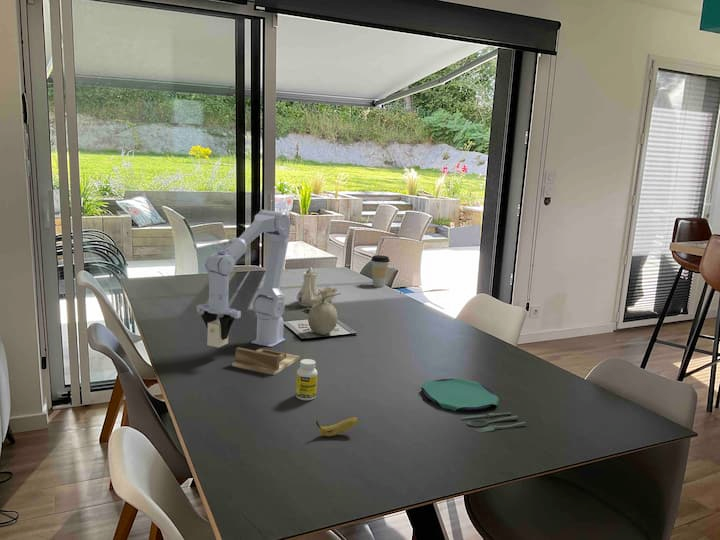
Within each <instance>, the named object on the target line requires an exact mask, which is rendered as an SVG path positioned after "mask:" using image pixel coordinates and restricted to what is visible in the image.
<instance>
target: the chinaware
mask: <svg viewBox="0 0 720 540" xmlns="http://www.w3.org/2000/svg"><path fill="white" fill-rule="evenodd" d="M302 275H303V281H302V286H301V288H300V290H299V292H298V293H297V294H296V300H297V301H298V304H299V305H300V306H302V307H307V308H309V307H311V308H312V307H313V306H314V305H315V304H317V303H318V302H319V301H320V299H321V298H323V297H326V296H329V295H334V294H337V292H338V289H337V288H335V287H334V288H331V287H329V286H326V287H324V288H323V287H319V288H318V285H317V277H318V275H319V273H317V272H315V270H313V267H311V266H310V267H309V268H308V270H306V271H305V272H302ZM334 298H335V296H331V297H328V298H325V300H324V302H327V303H330V302H331V301H332V299H334ZM320 302H322V300H321V301H320Z"/></svg>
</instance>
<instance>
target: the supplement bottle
mask: <svg viewBox="0 0 720 540" xmlns="http://www.w3.org/2000/svg"><path fill="white" fill-rule="evenodd" d="M299 366H300V367H299V368H297V371H296V384H295V385H296V387H295V397H296V398H297V399H298V400H301V401H312V400H314V399H316V397H317V390H318V389H317V387H318V370H317V369H316V360H314V359H311V358H305V359H304V358H303V359H301V360H300V361H299Z"/></svg>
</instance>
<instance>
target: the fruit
mask: <svg viewBox="0 0 720 540" xmlns="http://www.w3.org/2000/svg"><path fill="white" fill-rule="evenodd" d="M338 295H342V293H341V292H340V293H336V294H334V295H329V296H326V297H323V298H321V299H320V301H321V300H322V302H320V301H319V302H318V303H317V304H315V305H314V306H313V307H311V308H310V309H309V312H308V315H307V322H308V326H309V329H310V330H311V331H312V332H313V333H315V334H318V335H321V334H322V335H321V336H323V335H328V334H330V333H332V332H333V331H334V329H336V327H337V323H338V317H339V316H338V312H337V309H336V308H335V306H334V305H332V304H331V303H330V302H329V303H327V302H324V300H325V298H328V297H331V296H334V297H335V296H338Z"/></svg>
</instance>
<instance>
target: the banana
mask: <svg viewBox="0 0 720 540" xmlns="http://www.w3.org/2000/svg"><path fill="white" fill-rule="evenodd" d="M358 421H359V418H358V417H356V416H355V417H354V416H353V417H349V418H346V419H343V420H342V421H340V422H338V423H336V424H332V425H327V426H322V425H320V424H319V420H316V422H315V424H316V426H317V427H318V431H319V434H321V436H324V437H334V436H338V435H340V434H342V433H344V432H346V431H348V430H350V429H351V428H353V427H354V426H355V425H356V424H357V423H358Z"/></svg>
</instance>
